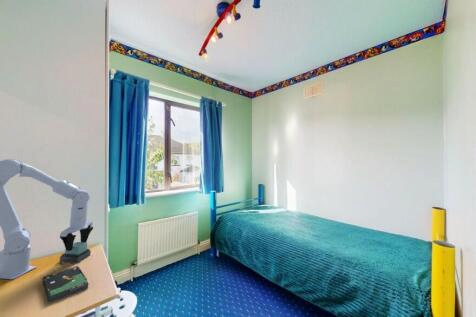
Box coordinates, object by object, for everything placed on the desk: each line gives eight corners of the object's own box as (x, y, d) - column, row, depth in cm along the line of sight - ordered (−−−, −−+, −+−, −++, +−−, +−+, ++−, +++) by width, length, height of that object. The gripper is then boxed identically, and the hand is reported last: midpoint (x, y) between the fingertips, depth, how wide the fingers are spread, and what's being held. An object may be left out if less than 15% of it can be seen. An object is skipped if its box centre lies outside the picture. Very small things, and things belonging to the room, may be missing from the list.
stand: (59, 261, 83) (60, 254, 83) (73, 253, 90) (74, 247, 90) (77, 262, 83) (77, 256, 83) (90, 254, 90) (90, 249, 90)
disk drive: (41, 284, 69) (48, 304, 60) (42, 276, 69) (49, 295, 60) (77, 272, 78) (89, 288, 68) (78, 265, 78) (89, 280, 68)
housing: (78, 254, 85) (79, 247, 85) (64, 253, 85) (64, 245, 85) (86, 250, 89) (87, 242, 89) (73, 249, 89) (73, 241, 89)
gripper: (73, 222, 80) (70, 254, 80) (99, 212, 94) (97, 240, 94) (56, 221, 80) (54, 253, 80) (85, 211, 94) (83, 239, 94)
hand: (76, 246), depth 87 cm, fingers open, 7 cm apart
